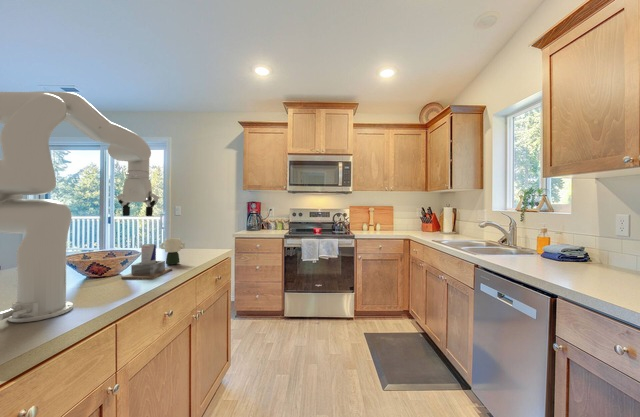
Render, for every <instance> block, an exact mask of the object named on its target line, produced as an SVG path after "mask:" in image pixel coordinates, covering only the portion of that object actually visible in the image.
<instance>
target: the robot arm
mask: <svg viewBox="0 0 640 417" xmlns="http://www.w3.org/2000/svg"><path fill="white" fill-rule="evenodd" d="M63 122H67V123H69V124H70V125H72V126H73V127H74V128H76V129H77V130H79V131H80V132H82V134H84V135H86V136H87V137H88V138H89V139H91V140H94V141H96V142H100V143H103V144H108V147H107V152H108V155H109V156H110V157H111V158H112V159H114V160H116V161H119V162H127V172H126V173H125V176H126V177H127V178H125V180H124V184H123V188H122V193H121V194H118V195H116V198H117V200H118V203H119V204H120V206H121V207H122V216H123V217H128V216H130V214H131V212H130V211H131V207H130V205H131V204H132V203H145V205H146V207H145V216H146V217H153V211H154V209H153V208H154V207H155V205H156V204H157V203H158V201H159V199H160V196H158V195H156V194H155V193H153V187H152V182H151V179H150V158H151V156H152V151H151V147H150V145H149V144H148V143H147V141H145V140H144V139H143V138H142V137H141V136H140V135H139V134H137V133H136V132H134V131H132V130H130V129H128V128H126V127H123V126H121V125H119V124H117V123H114V122H112V121H110V120H109V119H108V118H106V117H105V116H104V115H103V114H102V113H101V112H100V111H98V109H96V108H95V107H94V106H93V105H92V104H91V103H90V102H89V101H87V100H86V99H85V98H84V97H82V96H81V95H79V94H77V93H75V92H69V91H45V90H44V91H40V90H39V91H0V123H1V124H3V127H2V129H1V130H0V146H1V152H2V157H3V158H0V233H2V234H11V235H12V234H19V235H20V234H21V235H22V234H23V235H24V234H25V235H24V237H23V238H22V240H21V242H20V243H19V245H18V247H17V250H16V302H13V303H12V306H11V307H10V308H9V309H6V310H3V311H0V321H2V320H5V319H7V321H8V322H11V323H30V322H36V321H37V322H38V321H42V320H47V319H51V318H55V317H57V316H60V315H61V316H62V315H64V314H66V313H68V312H70V311H71V310H73V309H74V303H73V302H71V301H67V243H68V242H67V240H68V234H69V229H70V227H71V224H72V216H73V214H72V211H71V209H70V208H69V206H68V205H66V204H65V203H63V202H61V201H58V200H54V199H47V198H45V199H43V198H24V197H23V196H38V195H39V196H40V195H47V194H50V193H51V192H53V191H54V190H55V188H57V179H56V178H57V177H56V172H55V169H54V164H53V161H52V160H53V159H52V155H51V150H50V144H49V143H50V137H51V135H52V133H53V131H54V130H55V129H56V127H58V126H59V125H60V124H61V123H63Z"/></svg>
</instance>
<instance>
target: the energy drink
mask: <svg viewBox="0 0 640 417" xmlns="http://www.w3.org/2000/svg"><path fill="white" fill-rule="evenodd" d="M140 248H141V255H140V258H141V260H140V262H141V265H152V264H155V263H156V261H157V260H156V259H157V245H156V243H145V244H141V247H140Z"/></svg>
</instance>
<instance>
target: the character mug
mask: <svg viewBox="0 0 640 417" xmlns="http://www.w3.org/2000/svg"><path fill="white" fill-rule="evenodd" d="M181 241H182V240H181V238H178V237H177V238H174V237H173V238H172V237H171V238H165V239H164V242H161V243H160V249H161V250H165V253H167V254H166V258H165V259H166V260H165V265H177V264H179V263H180V255H179V252H181V249H182V250H184V249H185V244H186V243H185V242H184V241H183V242H181Z"/></svg>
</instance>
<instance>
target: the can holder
mask: <svg viewBox="0 0 640 417" xmlns="http://www.w3.org/2000/svg"><path fill="white" fill-rule="evenodd" d="M130 268H131V269H130V270H131V272H130V273H128V274H126V275H123V276H121V280H153V279H156V278H157V277H160V276H163V275H165V274H166V273H167V274H168V273H169V272H171V271H173V267H166V260H156V263H155V264H152V265H141V261H140V262H137V263H134V264H131V266H130Z"/></svg>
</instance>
